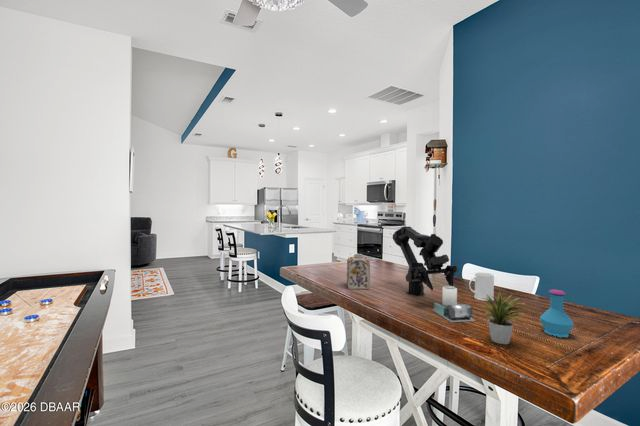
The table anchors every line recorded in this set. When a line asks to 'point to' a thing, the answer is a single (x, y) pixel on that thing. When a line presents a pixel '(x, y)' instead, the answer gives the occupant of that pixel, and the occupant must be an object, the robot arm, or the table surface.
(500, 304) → the house plant
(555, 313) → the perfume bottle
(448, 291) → the white cylinder
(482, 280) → the mug
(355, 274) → the decorative jar
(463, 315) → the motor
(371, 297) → the table surface
